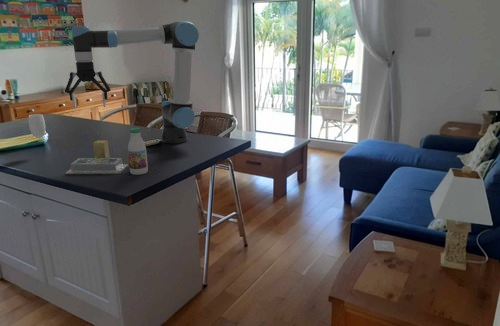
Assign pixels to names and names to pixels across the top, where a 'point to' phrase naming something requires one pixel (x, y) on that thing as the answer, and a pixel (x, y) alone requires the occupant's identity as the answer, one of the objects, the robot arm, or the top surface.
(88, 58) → the robot arm
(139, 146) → the milk bottle
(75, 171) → the butter dish
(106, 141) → the block
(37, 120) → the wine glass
